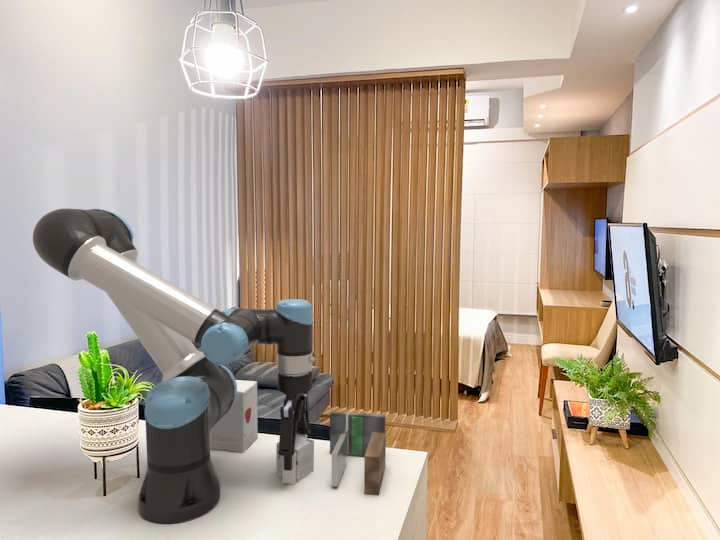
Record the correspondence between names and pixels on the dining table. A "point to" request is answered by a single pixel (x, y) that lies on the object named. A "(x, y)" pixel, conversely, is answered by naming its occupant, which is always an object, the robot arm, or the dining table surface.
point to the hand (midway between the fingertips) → (295, 472)
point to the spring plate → (339, 455)
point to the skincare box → (299, 458)
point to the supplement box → (237, 421)
